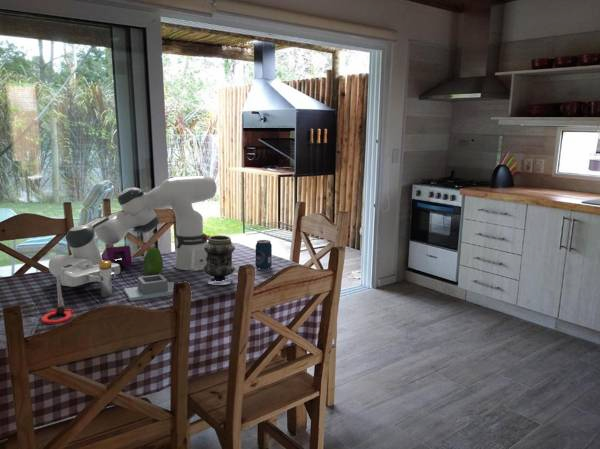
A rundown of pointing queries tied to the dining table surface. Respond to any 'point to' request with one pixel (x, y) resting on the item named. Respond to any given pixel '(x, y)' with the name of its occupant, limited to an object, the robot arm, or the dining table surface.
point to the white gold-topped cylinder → (106, 278)
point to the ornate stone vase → (219, 257)
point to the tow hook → (58, 308)
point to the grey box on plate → (150, 288)
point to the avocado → (153, 262)
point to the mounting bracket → (118, 255)
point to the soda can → (263, 254)
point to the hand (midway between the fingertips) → (107, 277)
